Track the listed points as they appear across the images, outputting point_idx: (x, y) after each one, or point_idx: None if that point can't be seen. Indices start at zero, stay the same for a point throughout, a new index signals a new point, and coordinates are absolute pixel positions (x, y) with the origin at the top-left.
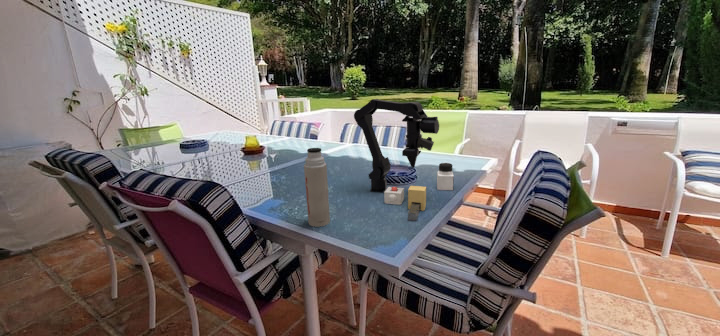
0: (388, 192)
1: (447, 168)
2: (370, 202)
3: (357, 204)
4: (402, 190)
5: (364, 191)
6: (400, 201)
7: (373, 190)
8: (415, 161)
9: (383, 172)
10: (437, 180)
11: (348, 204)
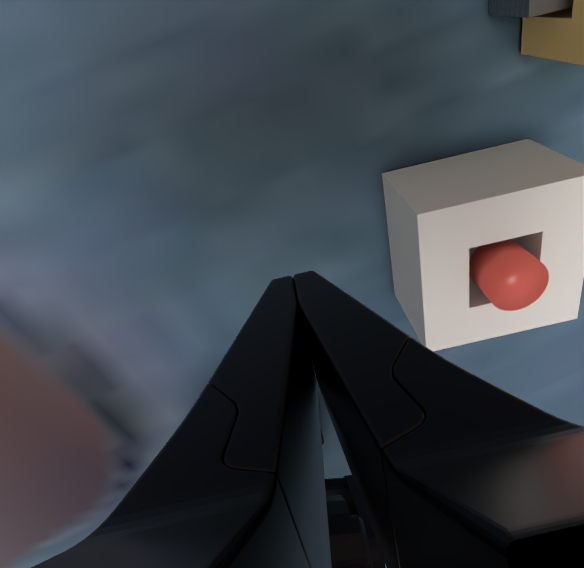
0: (580, 286)
1: None
2: (521, 346)
3: (568, 387)
4: (500, 196)
5: (337, 459)
6: (545, 150)
7: (320, 428)
8: (334, 340)
9: (362, 520)
10: None
11: (575, 421)
